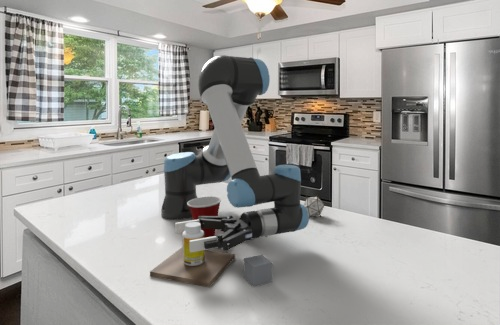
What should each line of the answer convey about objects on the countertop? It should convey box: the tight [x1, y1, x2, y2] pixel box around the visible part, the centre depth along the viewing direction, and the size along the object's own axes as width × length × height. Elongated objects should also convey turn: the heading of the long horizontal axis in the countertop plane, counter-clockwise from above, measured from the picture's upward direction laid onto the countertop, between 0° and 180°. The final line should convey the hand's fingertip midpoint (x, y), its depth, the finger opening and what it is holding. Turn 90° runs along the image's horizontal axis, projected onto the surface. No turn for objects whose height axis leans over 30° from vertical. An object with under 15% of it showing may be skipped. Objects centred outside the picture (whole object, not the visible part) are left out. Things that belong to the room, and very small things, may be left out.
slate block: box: [243, 254, 273, 288], centre depth 81 cm, size 5×5×5 cm
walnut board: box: [149, 246, 236, 288], centre depth 88 cm, size 16×16×1 cm
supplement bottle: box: [181, 222, 205, 266], centre depth 87 cm, size 6×6×10 cm
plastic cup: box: [187, 195, 222, 238], centre depth 108 cm, size 11×11×12 cm
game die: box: [303, 194, 327, 219], centre depth 128 cm, size 9×8×10 cm
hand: (182, 236), depth 85 cm, fingers open, 13 cm apart
